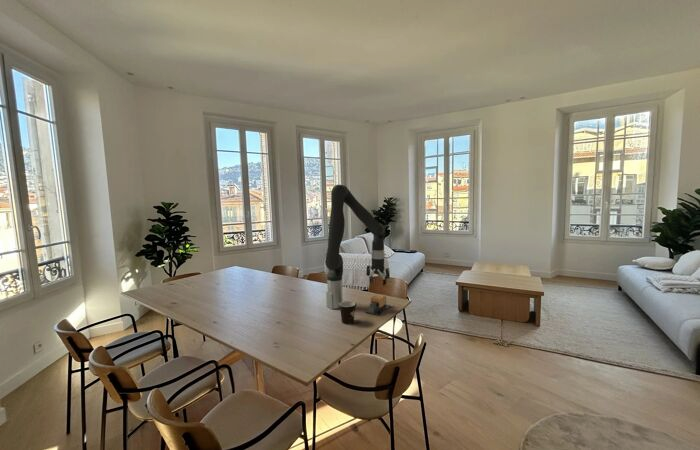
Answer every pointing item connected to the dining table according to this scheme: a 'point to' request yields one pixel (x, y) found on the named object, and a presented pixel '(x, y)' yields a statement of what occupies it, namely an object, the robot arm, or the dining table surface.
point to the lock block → (378, 299)
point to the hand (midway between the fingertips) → (377, 284)
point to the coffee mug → (347, 312)
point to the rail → (377, 308)
